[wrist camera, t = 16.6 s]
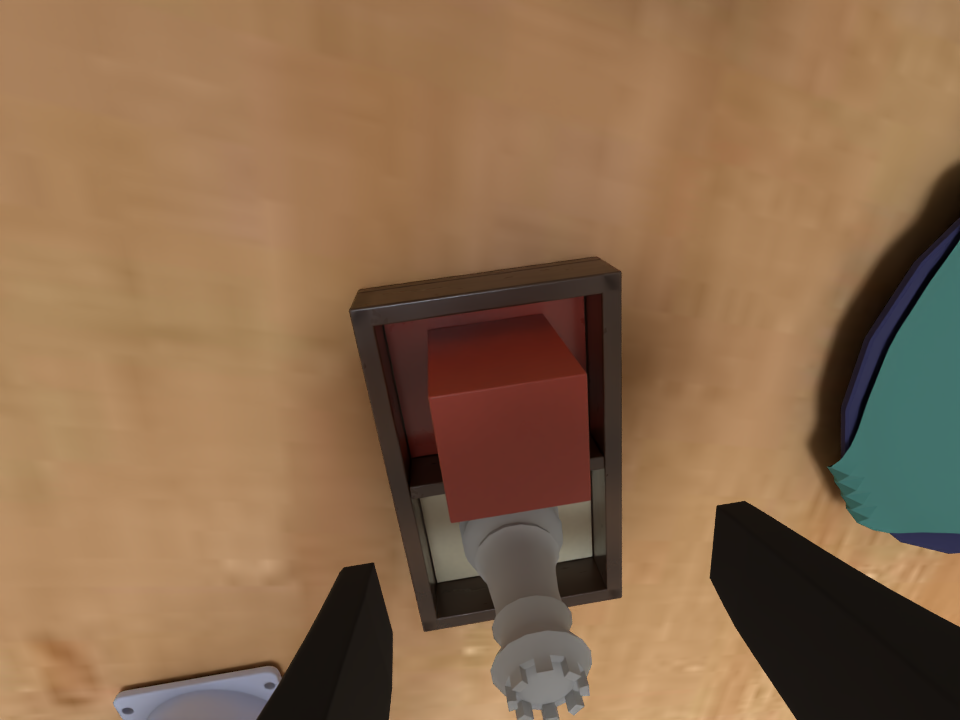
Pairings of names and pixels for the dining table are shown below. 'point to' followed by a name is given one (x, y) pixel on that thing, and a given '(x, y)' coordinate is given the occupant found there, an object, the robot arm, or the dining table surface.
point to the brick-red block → (508, 417)
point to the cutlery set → (909, 409)
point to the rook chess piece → (529, 612)
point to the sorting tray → (411, 440)
